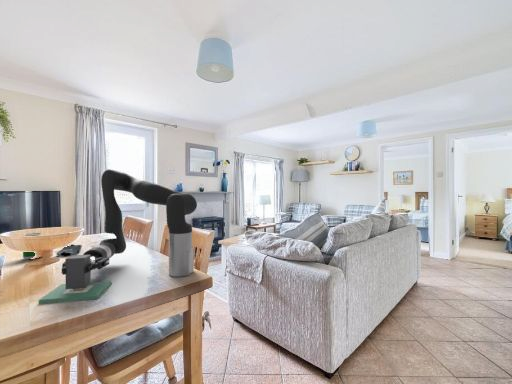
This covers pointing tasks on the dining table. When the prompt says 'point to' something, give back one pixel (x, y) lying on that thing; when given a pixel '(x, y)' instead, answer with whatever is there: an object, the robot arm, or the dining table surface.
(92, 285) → the pin board
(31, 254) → the soda can
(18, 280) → the dining table surface
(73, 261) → the block
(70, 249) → the electronic device
